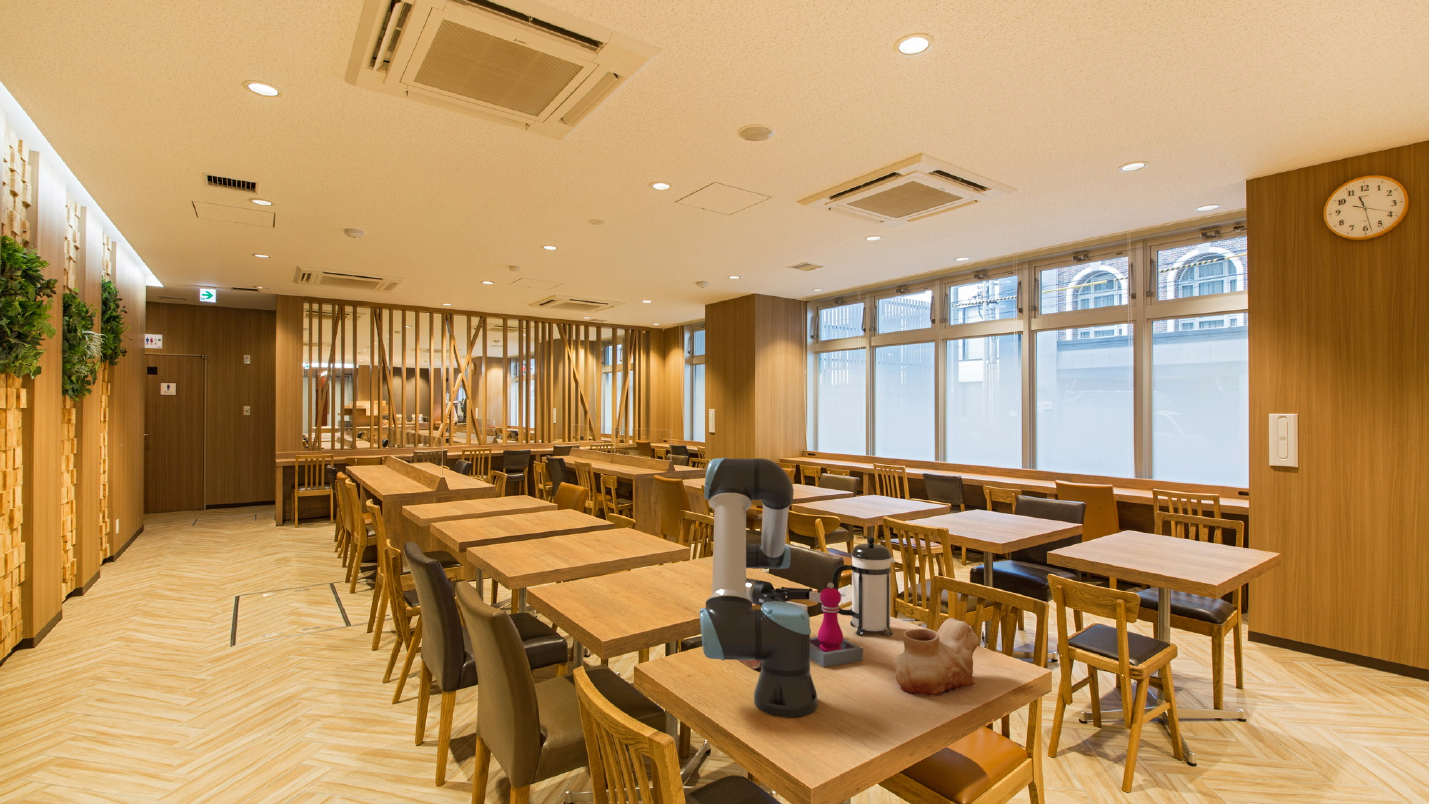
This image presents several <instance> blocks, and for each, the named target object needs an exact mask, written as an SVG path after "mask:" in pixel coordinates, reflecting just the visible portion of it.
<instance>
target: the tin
mask: <svg viewBox="0 0 1429 804" xmlns="http://www.w3.org/2000/svg"><path fill="white" fill-rule="evenodd" d="M737 662H740V663H742V664H744V665H746V666H747V667H748V666H749V667H748V668H751V670H756V669H761V668H762V660H737Z"/></svg>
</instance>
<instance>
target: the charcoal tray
mask: <svg viewBox="0 0 1429 804" xmlns="http://www.w3.org/2000/svg"><path fill="white" fill-rule="evenodd" d="M820 644H821V643H820V642H819V640H818V636H815V637H814V636H813V637H810V661H813V662H814V663H816V664H817V665H818V666H820V667H822V668H823V667H824V668H828V666H830V667H835V666H840V665H847V664H852V663H858V662H863V660H864V658H863V657H864V656H863V655H864V649H863V647H862V646H860V645H858V644H856V643H854V642H852V641H850V640H849V639H847V638H845V637H843V641H842V643H841V644H840V646H841V650H835V651H829V652H824V651H822V650H821V649H819V646H820Z"/></svg>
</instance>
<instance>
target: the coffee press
mask: <svg viewBox="0 0 1429 804" xmlns="http://www.w3.org/2000/svg"><path fill="white" fill-rule="evenodd" d="M875 541H876V539H875V538H874V537H872V536H869V537H868V538H867V542H868V543H860V544H857V545H855V546H854V547H853V548H852V550H851V551H850V556H851V563H850V564H840V565H838V566H837V567H836V568H835V569H834V571H833V573H832V576H831V578H832V579H831V583H833V585H834V587H833V588H835V589H837V590H838V588H839V587H838V583H839V582H838V580H839V575H840V574H841V573H842V572H845V571H851V608H850V609H843V608H841V607H840V606H839V611H838V614H839V615H842V616H850V617H851V621H850V622H849V623H850V624H849V625H850V626H852V627H855V628H856V633H855V634H856V635H857V636H859V637H862V636H863V634H864V632H866V631H867V632H884V633H885V635H886V636H887V637H891V636H893V631H892V628H891V627H890V626H891V573H892V565H891V564H892V563H896V559H894V558H893V556H892V553H891V551H890V549H889V548H888V547H886V545H885V546H884V545H882V544H879V543H875ZM838 591H839V590H838Z"/></svg>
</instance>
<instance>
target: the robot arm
mask: <svg viewBox="0 0 1429 804" xmlns="http://www.w3.org/2000/svg"><path fill="white" fill-rule="evenodd" d="M705 472H706V473H705V479H704V490H703V491H704V492H703V494H704V495H703V496H704V500H707V501H708V504H709V506H710V508H711V509H712V510H714V516H713V517H714V518H713V519H714V521H713V548H712V549H713V550H712V551H713V552H712V579H711V580H712V582H711V583H712V585H711V595H710V596H709V597H708V598H707V599H706V600H705V607H702V608H700V609H699V612H698V613H699V622H700V623H699V624H700V632H701V643H702V650H703V651H702V652H703V654H704V656H705V657H706V658H707V659H711V660H721V661H725V660H728V661H734V660H736V661H738V660H762V668H760V669H761V670H760V674H759V676H758V679H757V683H756V686H755V689H754V692H753V696H754V697H753V703H754V706H755V707H756V708H757V709H758V710H760V711H761V712H763V713H764V714H767V715H770V716H773V717H774V716H775V717H781V718H798V717H804V716H807V715H810V714H811V713H814V711H816V709H817V708H818V693H817V691H816V688H815V687H816V686H815V683H814V681H813V678H812V674H811V659H810V638H811V634H812V629H811V623H810V622H811V621H810V620H811V619H810V615H809V613H808V605H806V604H802V603H799V602H798V603H797V602H793V600H794V601H795V600H809V601H810V602H815V603H818V604H819V603H820V604H823V603H822V602H821V600H820V594H821V592H817V591H814V590H813V589H812V588H811V587H809V588H804V587H803V588H802V587H801V588H799V587H786V586H780V588H779V587H776V588H774V586H773V584H772V583H771V581H766V580H760V579H756V578H750V577H747V569H766V570H767V569H771V570H772V569H773V570H780V569H782V570H783V569H789V568H790V566H791V547H790V545H788V544H786V539H787V531H788V518H789V509H790V508H789V507H790V506H791V505H792V503H793V500H794V495H795V493H794V485H793V482H792V480H791V478H790V476H789V475H788V473H787V472H786V470H785V469H784V468H783V467H782V466H781V465H779V464H778V463H777V462H775V461H773V460H771V459H768V458H759V457H758V458H749V457H747V458H745V457H744V458H733V457H732V458H731V457H730V458H728V457H721V458H718V457H717V458H713V459H711V460H710V461H709V462H708V466H707V468H706V471H705ZM753 501H760V503H761V504H762V517H761V520H762V521H761V541H760V542H761V543H760V544H758V543H757V544H755V543H754V544H753V543H751V544H748V543H747V511H748V510H749V509H750V508H751V506H752V502H753ZM791 600H792V601H791ZM753 605H756V606H760V609H759V608H758V609H757V608H753Z"/></svg>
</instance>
